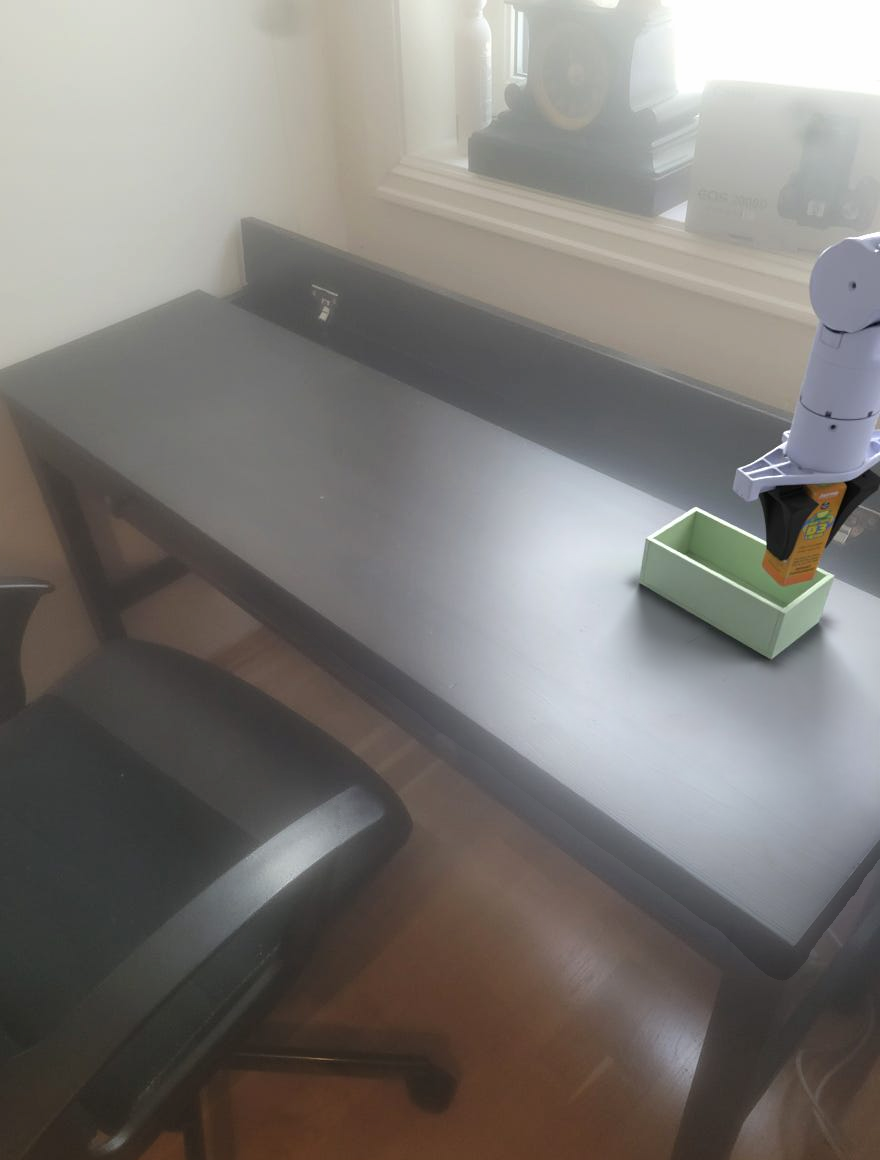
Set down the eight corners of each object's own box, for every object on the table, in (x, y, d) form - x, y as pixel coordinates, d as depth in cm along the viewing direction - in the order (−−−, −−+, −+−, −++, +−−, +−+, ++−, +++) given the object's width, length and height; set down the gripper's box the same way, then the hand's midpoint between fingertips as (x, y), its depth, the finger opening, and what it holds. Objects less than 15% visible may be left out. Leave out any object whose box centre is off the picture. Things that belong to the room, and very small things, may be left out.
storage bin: (819, 621, 83) (834, 575, 79) (771, 660, 80) (785, 613, 76) (686, 551, 92) (695, 506, 88) (638, 582, 89) (645, 538, 85)
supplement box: (782, 590, 76) (811, 491, 69) (759, 567, 79) (785, 469, 72) (817, 582, 77) (849, 483, 70) (793, 559, 79) (822, 461, 72)
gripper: (882, 359, 71) (836, 502, 80) (723, 399, 68) (695, 543, 77) (950, 398, 66) (893, 546, 75) (782, 442, 63) (744, 591, 72)
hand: (796, 547), depth 76 cm, fingers closed on supplement box, 3 cm apart
